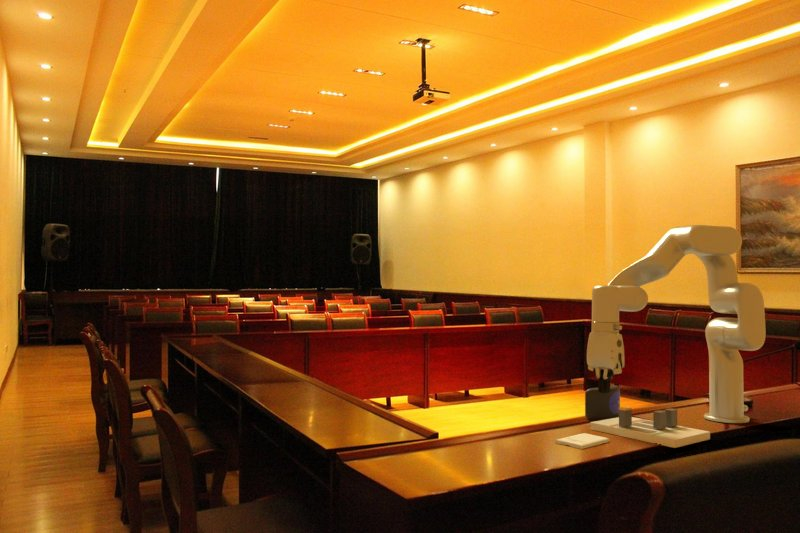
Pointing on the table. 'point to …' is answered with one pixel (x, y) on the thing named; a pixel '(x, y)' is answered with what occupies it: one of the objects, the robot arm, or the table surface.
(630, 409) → the handle
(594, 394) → the dark olive rounded block
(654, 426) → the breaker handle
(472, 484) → the table surface
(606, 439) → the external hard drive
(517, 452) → the table surface
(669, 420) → the breaker handle
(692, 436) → the white flat board
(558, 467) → the table surface
